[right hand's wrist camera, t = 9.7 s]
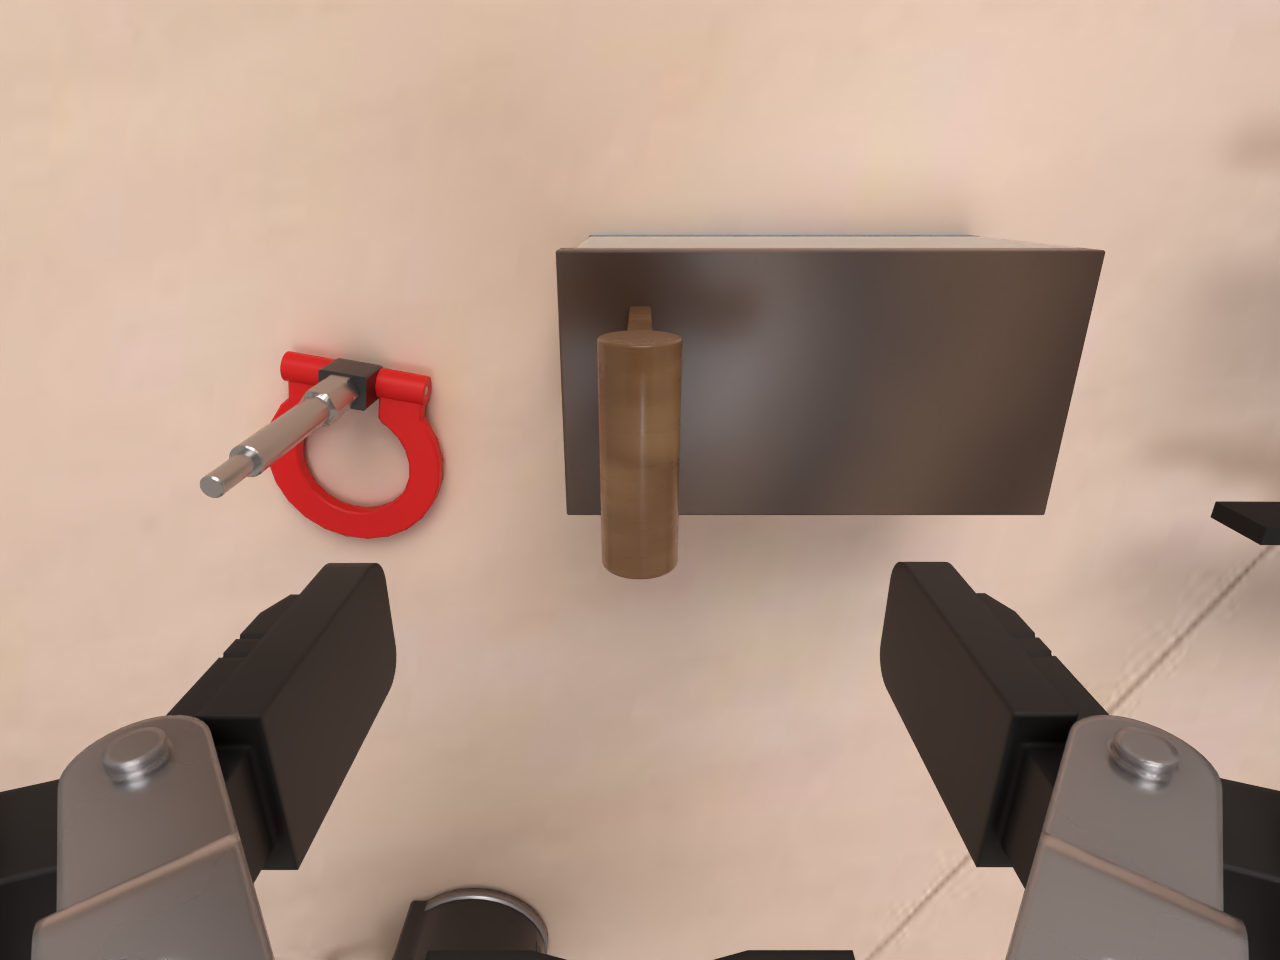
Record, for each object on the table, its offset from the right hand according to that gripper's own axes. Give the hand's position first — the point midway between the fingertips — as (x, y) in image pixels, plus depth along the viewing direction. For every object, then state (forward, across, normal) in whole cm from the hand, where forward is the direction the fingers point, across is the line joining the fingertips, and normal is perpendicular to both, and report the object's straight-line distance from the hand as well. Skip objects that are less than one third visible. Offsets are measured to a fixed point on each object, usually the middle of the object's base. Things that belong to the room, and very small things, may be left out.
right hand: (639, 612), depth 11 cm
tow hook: (+24, -14, -6) cm, 28 cm away
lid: (+15, +6, 0) cm, 16 cm away
